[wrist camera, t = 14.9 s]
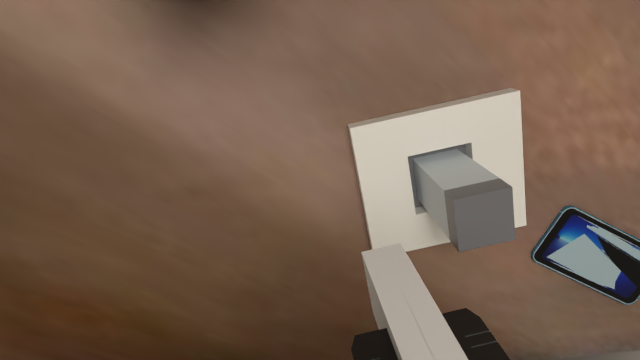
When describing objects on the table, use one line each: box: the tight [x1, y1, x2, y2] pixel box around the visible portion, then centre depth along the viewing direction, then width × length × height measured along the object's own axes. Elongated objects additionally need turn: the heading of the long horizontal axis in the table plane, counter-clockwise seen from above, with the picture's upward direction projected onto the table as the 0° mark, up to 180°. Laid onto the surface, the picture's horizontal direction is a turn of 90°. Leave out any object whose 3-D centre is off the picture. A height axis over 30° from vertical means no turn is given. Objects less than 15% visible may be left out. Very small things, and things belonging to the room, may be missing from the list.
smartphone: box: [531, 206, 640, 305], centre depth 47 cm, size 7×1×15 cm
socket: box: [347, 88, 526, 252], centre depth 42 cm, size 16×14×2 cm
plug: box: [413, 149, 515, 252], centre depth 37 cm, size 4×4×11 cm
